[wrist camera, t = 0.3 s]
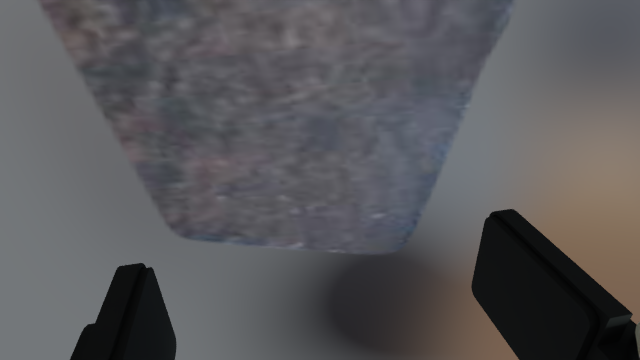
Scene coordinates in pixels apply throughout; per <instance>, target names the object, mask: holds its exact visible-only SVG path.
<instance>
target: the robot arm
mask: <svg viewBox="0 0 640 360" xmlns="http://www.w3.org/2000/svg"><path fill="white" fill-rule="evenodd" d="M472 292H473V295H474V297H475V298H476V300H477V301H478V302H479V304H480V305H481V306H482V308H483V309H484V311H485V312H486V314H487V315H488V316H489V318H490V319H491V321H492V322H493V323H494V325H495V326H496V328H497V329H498V330H499V332H500V333H501V335H502V336H503V338H504V339H505V340H506V342H507V343H508V345H509V346H510V347H511V349H512V350H513V352H514V353H515V354H516V356H517V357H518V359H519V360H640V322H639V323H638V324H637V325H636V324H635V323H634V322H633V321H632V320H631V319H630V318H631V316H632V315H633V314H632V313H631V312H630V311H629V310H628V309H627V308H626V307H624V306H623V305H622V304H621V303H620V302H619V301H618V300H616V299H615V298H614V297H613V296H612V295H611V294H610V293H608V292H607V291H606V290H605V289H604V288H603V287H602V286H601V285H599V284H598V283H597V282H596V281H595V280H594V279H593V278H591V277H590V276H589V275H588V274H587V273H586V272H585V271H584V270H582V269H581V268H580V267H579V266H578V265H577V264H576V263H574V262H573V261H572V260H571V259H570V258H568V256H566V255H565V254H564V253H563V252H562V251H561V250H560V249H559V248H557V247H556V246H555V245H554V244H553V243H552V242H551V241H550V240H548V239H547V238H546V237H545V236H544V235H543V234H542V233H540V232H539V231H538V230H537V229H536V228H535V227H534V226H532V225H531V224H530V223H529V222H528V221H527V220H526V219H525V218H523V217H522V216H521V215H520V214H519V213H518V212H517V211H515V210H513V209H508V210H501V211H495V212H492V213H491V214H490V216H489V217H488V218H486V220H485V223H484V228H483V232H482V237H481V242H480V247H479V252H478V256H477V261H476V266H475V271H474V275H473V281H472ZM175 354H176V338H175V334H174V331H173V328H172V325H171V322H170V318H169V316H168V312H167V309H166V307H165V303H164V300H163V297H162V294H161V291H160V288H159V285H158V282H157V279H156V276H155V273H154V270H153V269H152V268H151V267H150V268H146V267H145V265H144V264H143V263H139V264H132V265H125V266H119V267H118V268H117V270H116V272H115V275H114V277H113V280H112V282H111V285H110V287H109V290H108V292H107V295H106V297H105V300H104V302H103V305H102V307H101V310H100V313H99V315H98V317H97V320H96V323H95V324H88V325H87V326H86V327H85V328H84V329H83V331H82V333H81V335H80V337H79V340H78V342H77V344H76V347H75V349H74V352H73V354H72V356H71V359H70V360H175Z"/></svg>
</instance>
